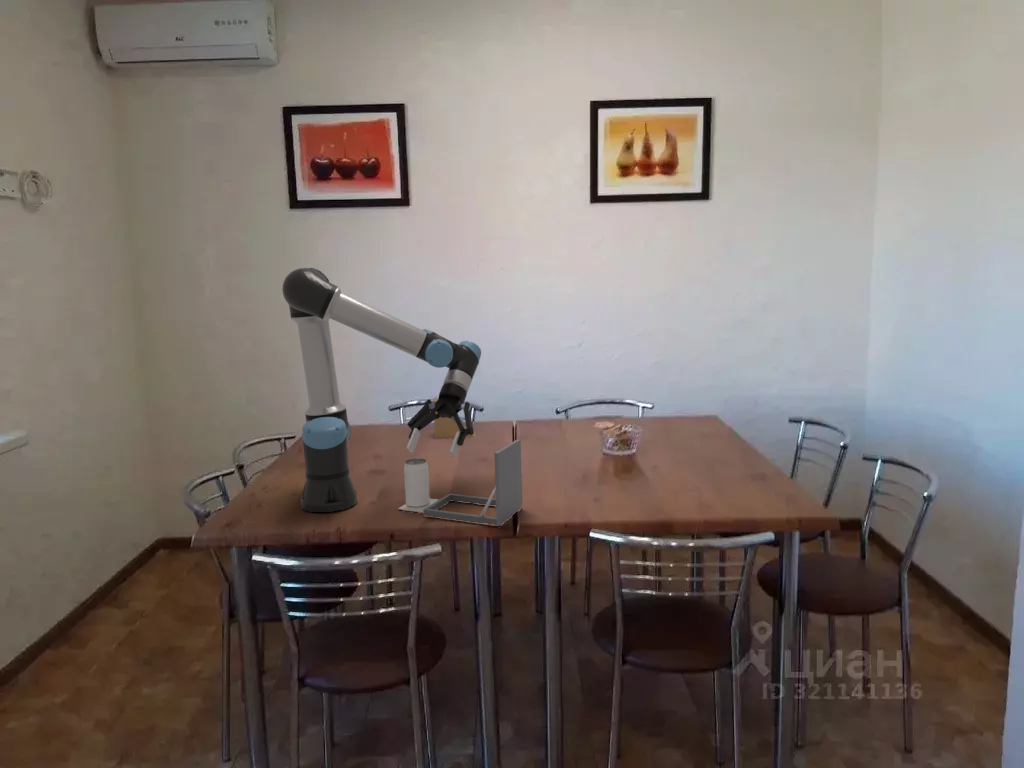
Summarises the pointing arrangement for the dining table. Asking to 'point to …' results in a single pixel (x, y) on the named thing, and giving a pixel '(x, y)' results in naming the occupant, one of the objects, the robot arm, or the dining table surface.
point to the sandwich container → (447, 426)
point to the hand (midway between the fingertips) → (430, 452)
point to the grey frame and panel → (506, 491)
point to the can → (416, 482)
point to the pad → (419, 509)
